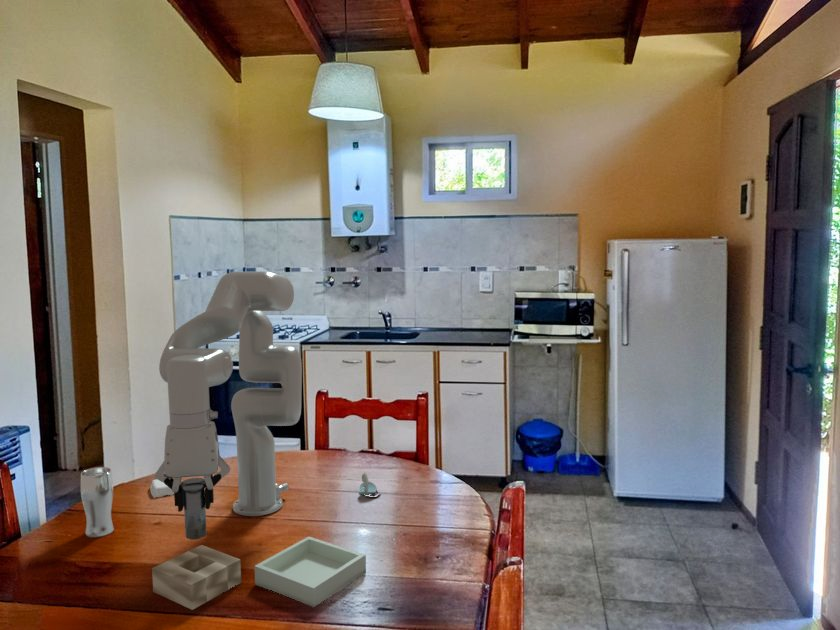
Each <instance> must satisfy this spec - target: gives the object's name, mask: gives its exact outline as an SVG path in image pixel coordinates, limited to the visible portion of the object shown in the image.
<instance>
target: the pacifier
mask: <svg viewBox="0 0 840 630" xmlns="http://www.w3.org/2000/svg"><path fill="white" fill-rule="evenodd" d="M361 480H362V483H361V484H360V485H359V492H358V494H360V495H363V494H365V495H369V494H372V495H373V494H374V493H375V494H376V493H377V492H376V491H377V489H378V488H377V486H376V484H374V483H373V482H370V481H369V477H368V474H367V472H363V473H362V475H361ZM372 495H370V496H372Z"/></svg>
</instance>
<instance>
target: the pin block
mask: <svg viewBox="0 0 840 630" xmlns="http://www.w3.org/2000/svg"><path fill="white" fill-rule="evenodd" d="M241 567H242V565H241V559H240V558H238V557H235V556H232V555H229V554H227V553H224V552H221V551H219V550H216V549H214V548H211V547H208V546H205V545H203V544H201V545H199V546H196V547H194V548H192V549H189V550H187V551H186V552H182V553H181V554H180V555H177V556H175V557H173V558H170V559H168V560H167V561H164V562H162V563H160V564H157V565H156V566H154V567H152V568H151V574H152V592H153V593H155V594H157V595H160V596H162V597H163V598H165V599H168V600H170V601H172V602H174V603H176V604H179V605H181V606H183V607H185V608H188V609H189V610H191V611H193V610H195V609H197V608H199V607H200V606H202V605H204V604H206V603H207V602H209V601H211V600H213V599H215V598H217V597H219V596H220V595H222V594H223V592H224V593H225V592H227V591H229V590H230V588H231V589H232V587H233V588H235V587H236V586H238V585H240V584H241V583H242V571H241V569H242V568H241ZM235 585H236V586H235Z"/></svg>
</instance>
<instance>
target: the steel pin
mask: <svg viewBox="0 0 840 630" xmlns="http://www.w3.org/2000/svg"><path fill="white" fill-rule="evenodd" d="M180 485H181V490H182V491H183V497H184V507H183V510H184V511H183V514H184V529H185V533H184V534H185V538H186V539H188V540H200V539H203V538H205V537H206V536H207V513H206V510H207V509H206V508H205V488H206V482H205V479H204V477H190V478H188V479H185V480H183V481H182V480H181V484H180Z"/></svg>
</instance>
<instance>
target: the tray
mask: <svg viewBox="0 0 840 630" xmlns="http://www.w3.org/2000/svg"><path fill="white" fill-rule="evenodd" d="M366 560H367V555H366V554H365V553H362V552H358V551H355V550H352V549H349V548H347V547H346V548H345V547H344V546H340V545H336V544H334V543H331V542H327V541H326V540H325V541H324V540H321V539H318V538H315V537H312V536H307V537H305V538H303V539H301V540H300V541H298V542H296V543H294V544H292V545H290V546H288V547H287V548H285V549H283V550H281V551H279V552H277V553H276V554H274V555H271V556H270V557H268V558H266V559H264V560H263V561H260V562H258V563H257V564H255V565H254V584H255V586H258V587H261V588H262V587H263V588H262V589H265V590H267V589H268V591H270V590H272V591H274V592H273V593H275V592H277V593H279V594H278V595H280V594H282V595H285V596H287V597H290V598H292V599H295V600H297V601H300V602H302V603H305V604H308V605H310V606H312V607H311V608H313V607H315V606H316V605H318V604H320V603H321V602H322V601H324V600H325V601H327V600H328V599H330V598H331V597H332V596H331V595H333V594H334V593H336V592H337V591H339V590H340V589H342V588H343V589H345V588H346V587H348V586H349V585H350V584H352V583H353V582H355V581H356V580H358V579H359V578H361V577H362V576H363V574H364V573H365V574H366V573H367V561H366ZM365 574H364V575H365ZM360 576H361V577H360ZM358 577H359V578H358ZM357 578H358V579H357ZM355 579H356V580H355ZM354 580H355V581H354ZM352 581H353V582H352ZM351 582H352V583H351ZM348 584H349V585H348ZM345 586H346V587H345ZM344 587H345V588H344ZM343 589H342V590H343ZM272 591H271V592H272ZM340 591H341V590H340ZM340 591H339V592H340ZM277 593H276V594H277ZM337 593H338V592H337ZM337 593H336V594H337ZM282 595H281V596H282ZM334 595H335V594H334ZM334 595H333V596H334ZM285 596H284V597H285ZM330 596H331V597H330ZM287 597H286V598H287ZM329 597H330V598H329ZM290 598H289V599H290ZM327 598H328V599H327ZM292 599H291V600H292ZM326 599H327V600H326ZM295 600H294V601H295ZM297 601H296V602H297ZM325 601H324V602H325ZM300 602H299V603H300ZM302 603H301V604H302ZM322 603H323V602H322ZM322 603H321V604H322ZM305 604H304V605H305ZM321 604H320V605H321ZM308 605H307V606H308ZM310 606H309V607H310ZM318 606H319V605H318ZM315 608H316V607H315Z"/></svg>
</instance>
